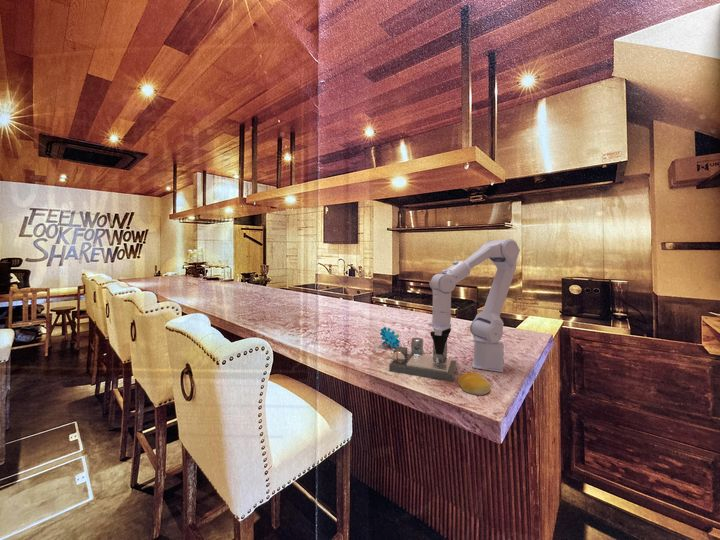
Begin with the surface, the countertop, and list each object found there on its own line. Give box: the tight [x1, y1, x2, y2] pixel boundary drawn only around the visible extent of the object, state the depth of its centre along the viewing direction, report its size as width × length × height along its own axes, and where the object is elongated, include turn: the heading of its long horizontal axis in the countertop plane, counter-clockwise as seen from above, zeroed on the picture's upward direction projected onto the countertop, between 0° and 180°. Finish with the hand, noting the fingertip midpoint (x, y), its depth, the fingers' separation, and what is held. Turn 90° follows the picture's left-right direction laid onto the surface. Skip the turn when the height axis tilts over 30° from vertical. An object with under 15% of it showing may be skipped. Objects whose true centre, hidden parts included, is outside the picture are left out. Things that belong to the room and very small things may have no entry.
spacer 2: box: [432, 341, 448, 363], centre depth 95 cm, size 4×4×6 cm
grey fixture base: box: [388, 345, 458, 382], centre depth 97 cm, size 20×13×6 cm, turn 67°
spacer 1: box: [410, 337, 424, 355], centre depth 111 cm, size 4×4×6 cm
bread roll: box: [458, 371, 491, 396], centre depth 83 cm, size 8×9×4 cm
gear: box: [379, 326, 401, 349], centre depth 123 cm, size 11×6×10 cm
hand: (440, 351), depth 95 cm, fingers closed on spacer 2, 4 cm apart
